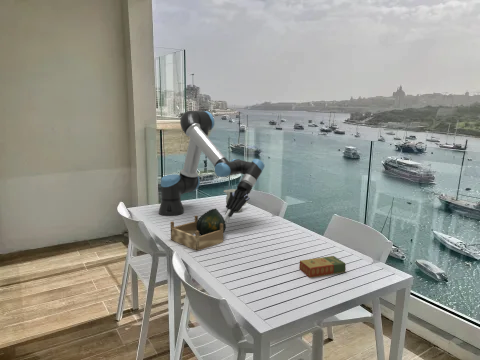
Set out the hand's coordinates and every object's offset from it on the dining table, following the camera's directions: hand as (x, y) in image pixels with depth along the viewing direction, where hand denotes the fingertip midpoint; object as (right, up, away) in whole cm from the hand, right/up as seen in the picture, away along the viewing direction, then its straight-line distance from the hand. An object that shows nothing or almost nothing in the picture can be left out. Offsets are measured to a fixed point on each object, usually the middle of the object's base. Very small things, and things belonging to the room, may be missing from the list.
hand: (224, 221), depth 179 cm
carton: (+40, -15, -41) cm, 60 cm away
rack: (-13, -8, -9) cm, 18 cm away
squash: (-7, -7, -4) cm, 11 cm away
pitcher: (+5, +1, +44) cm, 45 cm away
